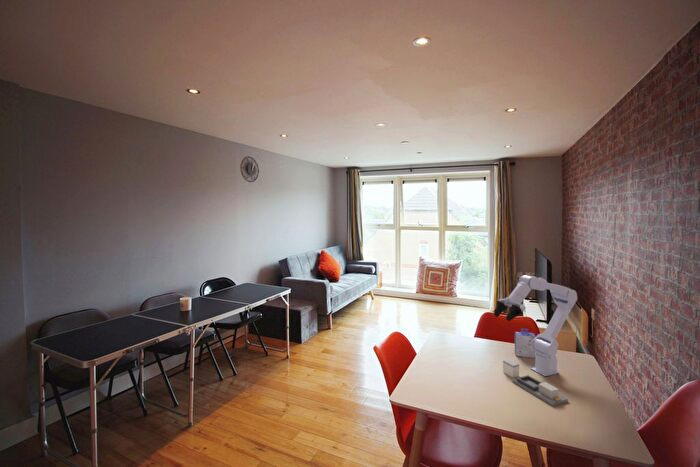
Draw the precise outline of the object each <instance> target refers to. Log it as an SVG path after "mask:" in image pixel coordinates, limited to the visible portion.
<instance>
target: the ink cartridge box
mask: <svg viewBox="0 0 700 467" xmlns="http://www.w3.org/2000/svg"><path fill="white" fill-rule="evenodd" d="M536 337H537V335H536V334H535V333H534V332H529V329H528V328H520V331H514V355H515V356H517V357H525V358H533V359H535V356H536V352H534V349H533V348H532V341H533V340H534V339H535V338H536Z"/></svg>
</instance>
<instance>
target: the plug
mask: <svg viewBox="0 0 700 467" xmlns="http://www.w3.org/2000/svg"><path fill="white" fill-rule="evenodd" d="M502 372H503V373H504V374H506V375H508V376H509V377H510V378H513V379H515V378H519V377H520V363H518V362H516V361H514V360H512V359H510V358H507V359H503V361H502Z"/></svg>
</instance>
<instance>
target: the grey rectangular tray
mask: <svg viewBox="0 0 700 467" xmlns="http://www.w3.org/2000/svg"><path fill="white" fill-rule="evenodd" d="M512 383H513V384H515V385H516V386H518V387H520V388H522V389H523V390H525V391H527V392H528V393H530V394H531V395H533V396H535V397H536V398H538V399H539V400H542V401H543V402H545V403H546V404H548V405H550V406H552V407H555V406H558V405H561V404H565V403H568V402H569V398H568V397H566V396H564V395H563V394H560V393H559V388H557V387H555V386H554V385H551V384H550V383H548V382H546V381H543V382H542V381H540V380H538V379H536V378H534V377H532V376H530V375H528V374H527V375H524V376H518V377H516V378H513V379H512Z"/></svg>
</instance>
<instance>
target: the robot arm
mask: <svg viewBox="0 0 700 467" xmlns="http://www.w3.org/2000/svg"><path fill="white" fill-rule="evenodd" d="M532 290H536V291H541V292H542V291H545V290H547V291H550V294H551V297H552V300H553V301H554V304H555V305H556V306H557V307H556V309H555V311H554V313H553V315H552V316H551V319H550V320H549V323H548V324H547V326H546V328H545V330H544V332H542V333H538V334H537V335H536V338H535V339H534V340H533V341H532V348H533V349H534V352H535V358H534V359H535V361H534V363H535V364H534V365H535V366H533V367H531V368H530V370H532V371H534V372H536V373H537V374H540V375H542V376H544V377H548V376H552V375H556V374H559V371H558V359H557V356H556V354H557V352H558V348H559V346H560V345H559V343H558V340H556V339H557V336H558V335H559V333H560V331H561V329H562V327H563V325H564V323H565V322H566V320H567V318H568V316H569V314H570V312H571V310H572V309H573V308H574V305H575V304H576V303H577V300H578V293H577V291H576V290H574V289H571V288H570V287H567V286H563V285H560V284H556V283H550V282H548V280H546V279H544V277H540V276H539V277H537V276H536V275H526V274H524V275H522V276H519V278H518V282H517V284H516V286H515V287H514V289H513V290H512V292H511V293H510V294H509V295H508V297H506V296H505V298H499V299H498V300H496V306H495V310H494V312H493V316H495V318H498V317H499V316H500V315H501V314H503V312H504V311H506V310H508V307H511V308H510V310H509V312H508V313H507V315H506V317H505V319H506V321H507V322H511V321H512V320H514V319H516V317H518V316H521V315H523V314H524V313H523V312H524V311H525V310H526V308H527V307H526V306H525V305H524V304H522V303H523V301H524V300H525V299H526V297H527V296H528V295H529V294H530V292H531V291H532Z"/></svg>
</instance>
